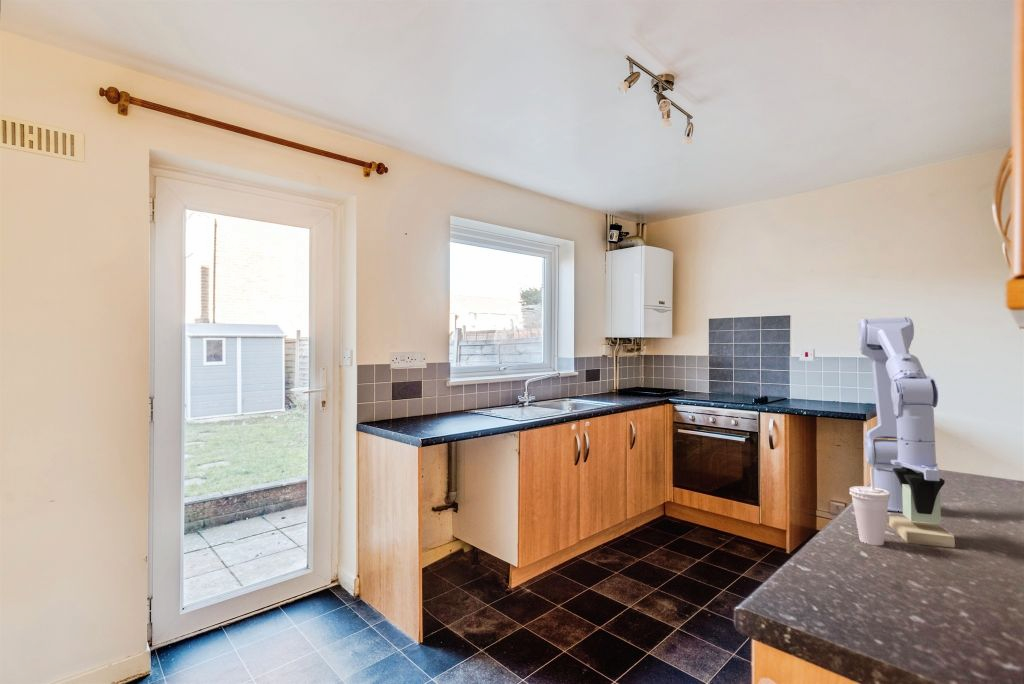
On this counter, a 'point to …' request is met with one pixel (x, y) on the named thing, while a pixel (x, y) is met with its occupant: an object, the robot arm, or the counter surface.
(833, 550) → the counter surface
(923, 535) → the oak slab
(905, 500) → the sage block
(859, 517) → the smoothie
